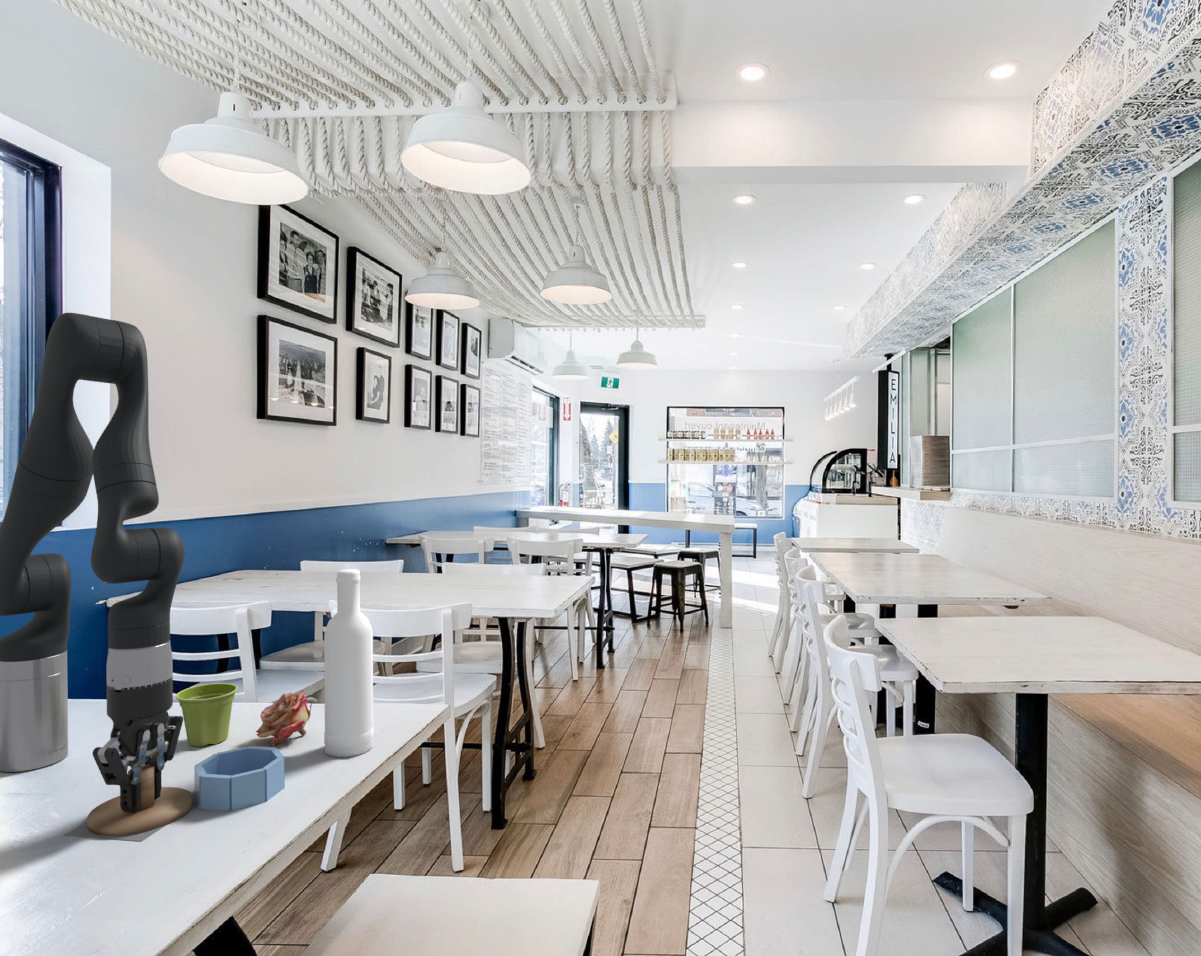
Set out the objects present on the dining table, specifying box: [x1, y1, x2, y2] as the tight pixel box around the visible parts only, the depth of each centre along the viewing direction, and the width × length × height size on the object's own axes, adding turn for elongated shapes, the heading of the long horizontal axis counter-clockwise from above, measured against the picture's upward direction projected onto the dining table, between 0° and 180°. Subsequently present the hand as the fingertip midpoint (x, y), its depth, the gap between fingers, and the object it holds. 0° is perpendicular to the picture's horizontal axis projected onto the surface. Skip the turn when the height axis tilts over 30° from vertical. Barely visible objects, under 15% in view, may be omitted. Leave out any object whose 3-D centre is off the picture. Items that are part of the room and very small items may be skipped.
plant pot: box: [175, 682, 239, 748], centre depth 126 cm, size 9×9×9 cm
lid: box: [86, 765, 193, 836], centre depth 98 cm, size 12×12×6 cm
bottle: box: [323, 568, 375, 758], centre depth 123 cm, size 8×8×30 cm
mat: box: [63, 793, 198, 843], centre depth 98 cm, size 11×13×1 cm
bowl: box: [193, 745, 286, 812], centre depth 105 cm, size 11×11×5 cm
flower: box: [255, 689, 313, 746], centre depth 127 cm, size 10×9×8 cm
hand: (141, 804), depth 98 cm, fingers closed on lid, 3 cm apart
